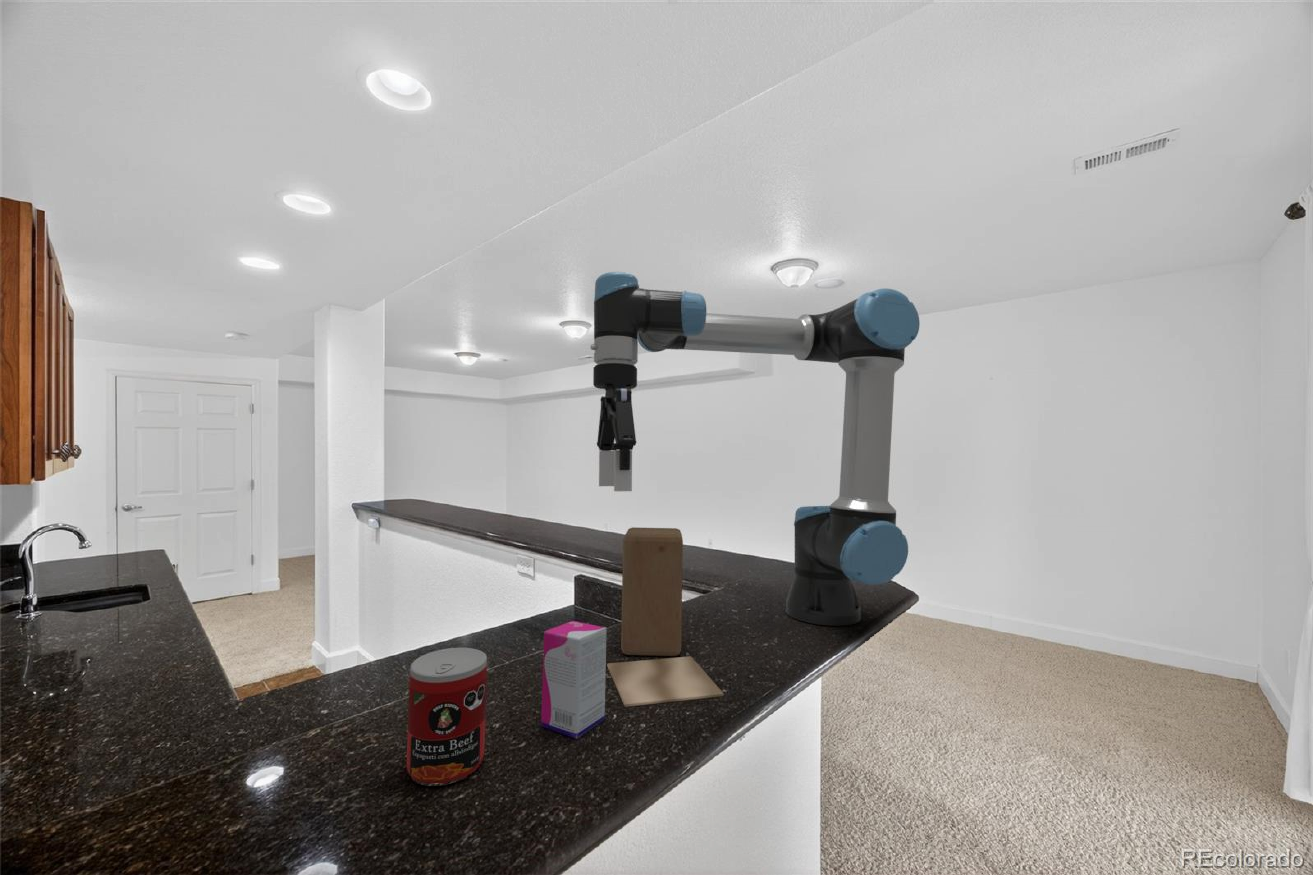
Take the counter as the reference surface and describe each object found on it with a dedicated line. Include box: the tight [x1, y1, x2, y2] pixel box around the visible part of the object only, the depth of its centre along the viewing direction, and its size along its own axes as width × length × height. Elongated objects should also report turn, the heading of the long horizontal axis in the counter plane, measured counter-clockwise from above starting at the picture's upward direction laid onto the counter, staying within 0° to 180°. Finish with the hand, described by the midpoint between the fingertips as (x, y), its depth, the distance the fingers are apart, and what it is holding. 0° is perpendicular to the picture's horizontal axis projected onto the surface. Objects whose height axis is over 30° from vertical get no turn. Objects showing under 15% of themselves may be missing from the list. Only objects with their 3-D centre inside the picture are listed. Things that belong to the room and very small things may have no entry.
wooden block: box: [620, 526, 684, 657], centre depth 92 cm, size 10×10×20 cm
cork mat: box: [606, 656, 725, 708], centre depth 78 cm, size 14×14×1 cm
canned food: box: [406, 647, 488, 783], centre depth 56 cm, size 8×8×11 cm
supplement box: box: [540, 620, 607, 740], centre depth 65 cm, size 6×6×12 cm
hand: (614, 488), depth 90 cm, fingers open, 13 cm apart
